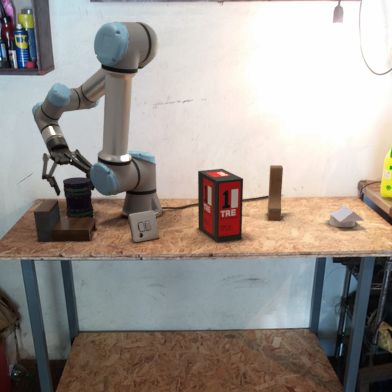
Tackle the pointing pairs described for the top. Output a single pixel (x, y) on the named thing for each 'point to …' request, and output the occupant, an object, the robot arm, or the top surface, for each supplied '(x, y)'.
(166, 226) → the top surface
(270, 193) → the wooden block
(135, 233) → the electrical switch
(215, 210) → the cleaning product box
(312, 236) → the top surface
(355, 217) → the wedge on round base
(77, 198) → the blue oil drum
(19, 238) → the top surface
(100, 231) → the top surface
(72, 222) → the l-shaped metal base
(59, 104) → the robot arm
